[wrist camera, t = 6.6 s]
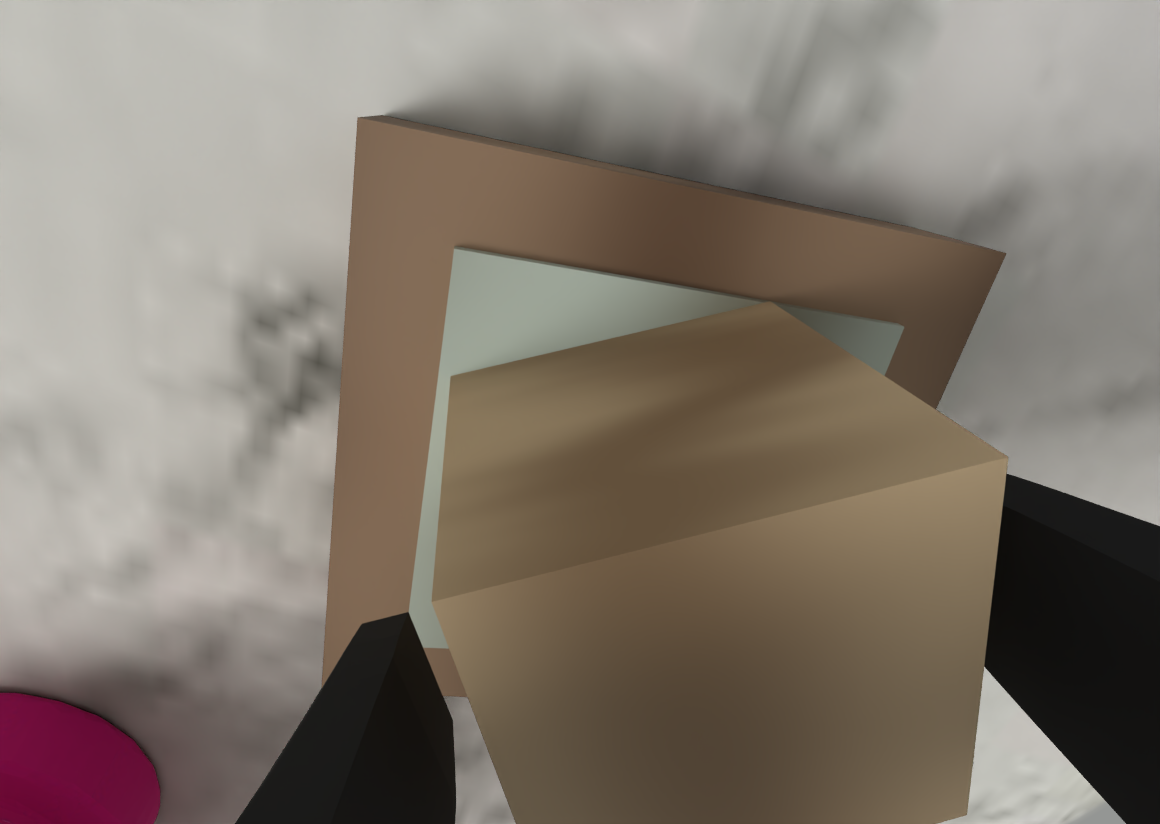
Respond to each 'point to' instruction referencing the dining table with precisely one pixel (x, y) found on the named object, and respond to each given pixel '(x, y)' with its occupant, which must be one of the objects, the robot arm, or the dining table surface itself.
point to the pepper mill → (70, 767)
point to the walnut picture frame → (573, 314)
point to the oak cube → (717, 580)
